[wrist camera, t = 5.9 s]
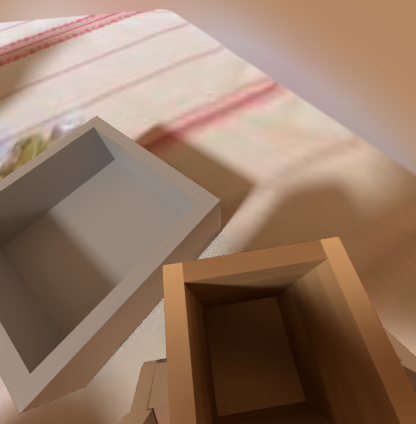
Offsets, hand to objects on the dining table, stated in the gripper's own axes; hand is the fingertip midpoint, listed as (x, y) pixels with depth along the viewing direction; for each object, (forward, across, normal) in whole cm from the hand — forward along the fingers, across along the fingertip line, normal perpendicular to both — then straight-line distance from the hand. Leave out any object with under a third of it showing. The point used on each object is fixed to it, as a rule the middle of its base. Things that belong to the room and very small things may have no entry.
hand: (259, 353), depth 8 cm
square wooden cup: (+3, 0, +3) cm, 5 cm away
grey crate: (+12, +10, -2) cm, 15 cm away
